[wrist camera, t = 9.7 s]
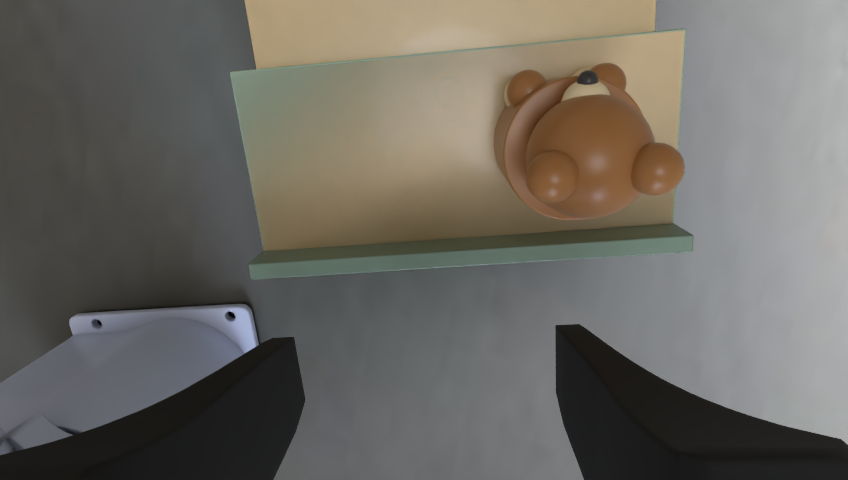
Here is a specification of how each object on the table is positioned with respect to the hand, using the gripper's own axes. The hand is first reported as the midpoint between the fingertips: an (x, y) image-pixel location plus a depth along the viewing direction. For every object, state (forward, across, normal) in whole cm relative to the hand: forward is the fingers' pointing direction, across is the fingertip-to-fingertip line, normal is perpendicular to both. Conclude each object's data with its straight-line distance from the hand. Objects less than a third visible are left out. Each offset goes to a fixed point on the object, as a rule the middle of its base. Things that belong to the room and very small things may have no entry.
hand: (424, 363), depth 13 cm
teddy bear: (+6, -4, -5) cm, 9 cm away
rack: (+10, -1, -8) cm, 13 cm away
